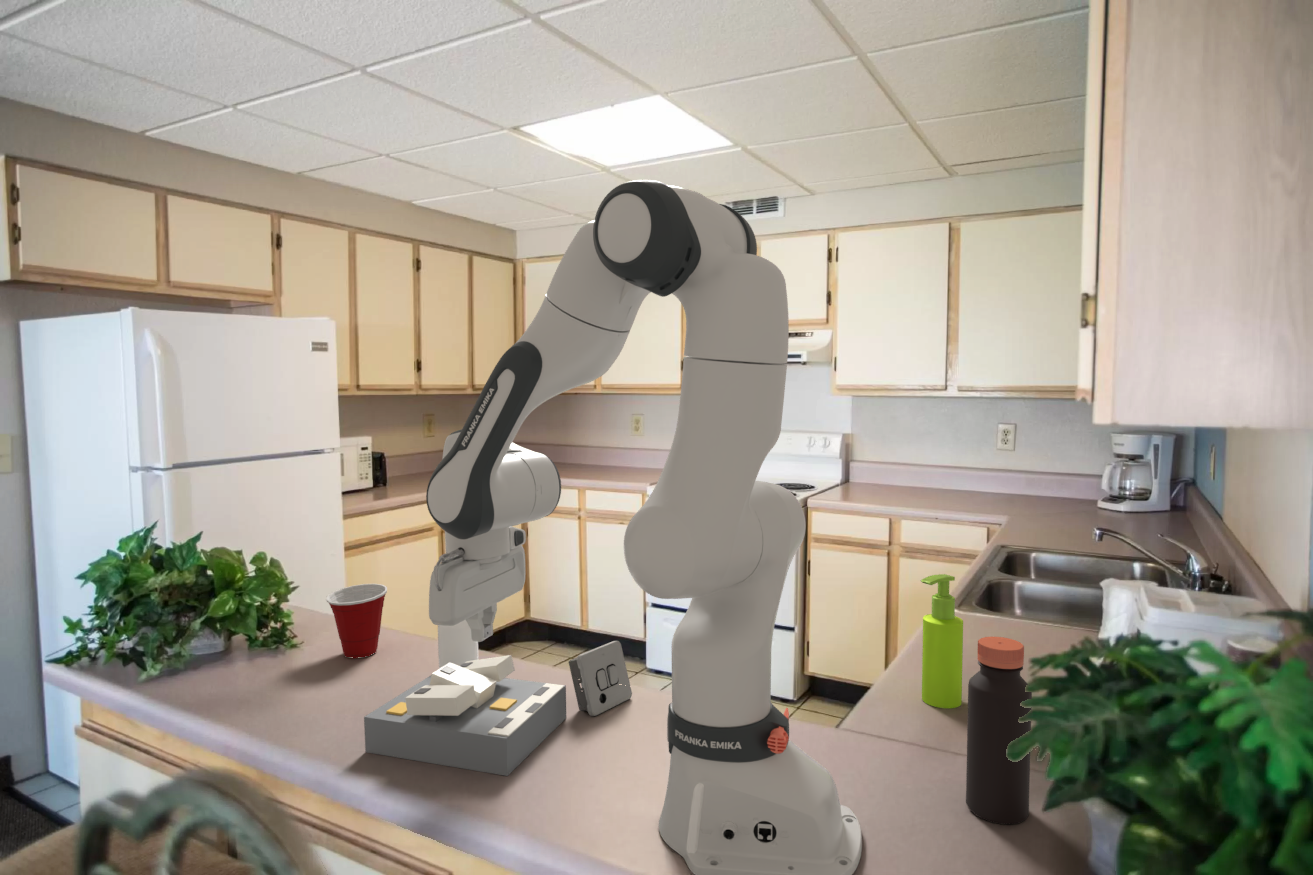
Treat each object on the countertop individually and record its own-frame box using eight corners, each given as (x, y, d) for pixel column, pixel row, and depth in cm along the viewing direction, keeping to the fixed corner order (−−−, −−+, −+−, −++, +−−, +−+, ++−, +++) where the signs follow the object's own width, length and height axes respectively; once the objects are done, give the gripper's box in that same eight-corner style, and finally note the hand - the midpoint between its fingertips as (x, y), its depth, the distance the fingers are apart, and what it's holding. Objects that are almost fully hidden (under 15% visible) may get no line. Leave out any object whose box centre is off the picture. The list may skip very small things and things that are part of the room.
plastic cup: (316, 655, 144) (313, 592, 144) (368, 640, 153) (366, 580, 152) (349, 668, 138) (346, 602, 137) (401, 651, 146) (399, 588, 146)
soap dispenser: (908, 698, 122) (910, 574, 121) (940, 690, 125) (942, 568, 124) (937, 712, 117) (940, 583, 116) (969, 703, 120) (972, 577, 119)
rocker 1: (476, 701, 107) (473, 683, 107) (458, 715, 103) (455, 696, 103) (427, 701, 110) (424, 684, 110) (407, 714, 106) (405, 696, 105)
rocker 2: (493, 695, 113) (496, 679, 112) (476, 708, 108) (480, 691, 108) (446, 677, 115) (449, 661, 115) (428, 688, 111) (432, 672, 110)
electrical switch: (593, 719, 116) (587, 657, 116) (568, 713, 120) (563, 653, 120) (633, 698, 124) (628, 641, 124) (609, 694, 127) (604, 637, 127)
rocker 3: (514, 670, 118) (511, 653, 118) (500, 681, 113) (496, 664, 113) (470, 676, 120) (466, 660, 120) (454, 687, 116) (450, 670, 116)
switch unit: (566, 717, 117) (565, 680, 116) (507, 775, 100) (506, 733, 99) (440, 700, 124) (439, 665, 123) (365, 751, 107) (363, 711, 106)
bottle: (959, 814, 90) (963, 646, 88) (972, 788, 96) (975, 630, 94) (1023, 832, 86) (1028, 657, 85) (1033, 804, 92) (1037, 639, 90)
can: (470, 691, 127) (467, 620, 126) (432, 689, 128) (430, 618, 127) (484, 676, 133) (482, 608, 132) (449, 674, 134) (447, 607, 134)
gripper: (456, 558, 98) (461, 665, 99) (531, 529, 118) (535, 619, 118) (413, 556, 100) (419, 661, 101) (494, 528, 120) (498, 616, 120)
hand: (482, 638), depth 110 cm, fingers closed
